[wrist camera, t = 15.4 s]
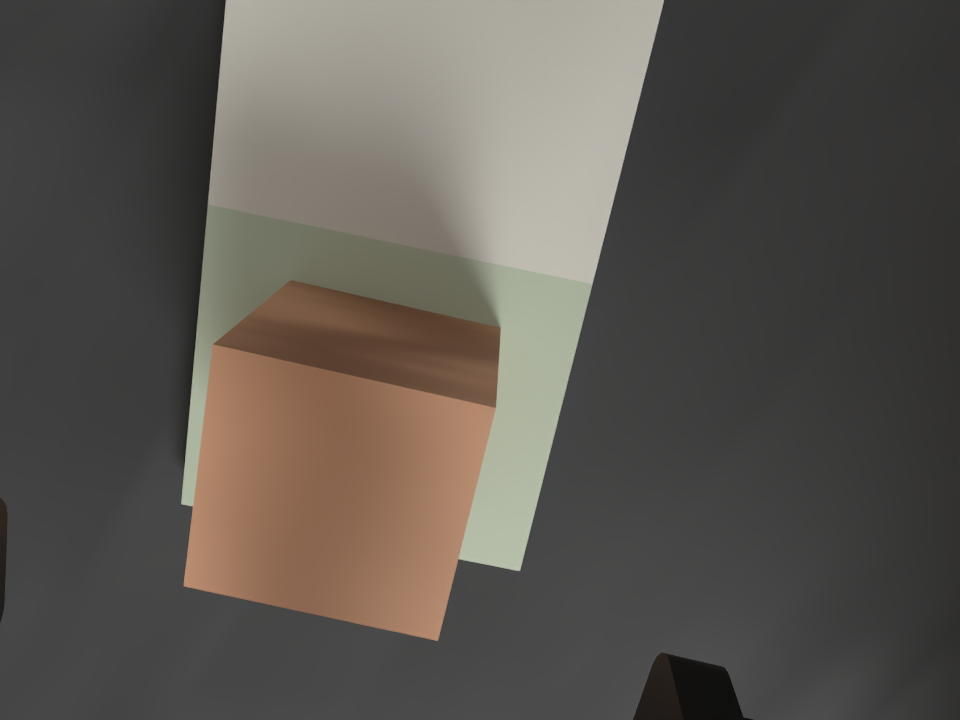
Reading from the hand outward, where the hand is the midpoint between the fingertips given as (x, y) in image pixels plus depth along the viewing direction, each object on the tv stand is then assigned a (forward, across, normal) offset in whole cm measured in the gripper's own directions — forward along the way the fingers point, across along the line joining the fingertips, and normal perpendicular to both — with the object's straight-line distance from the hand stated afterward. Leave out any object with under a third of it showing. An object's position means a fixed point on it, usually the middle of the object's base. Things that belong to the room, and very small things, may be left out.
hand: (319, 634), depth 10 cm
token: (+8, +1, 0) cm, 8 cm away
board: (+9, +1, -3) cm, 9 cm away
